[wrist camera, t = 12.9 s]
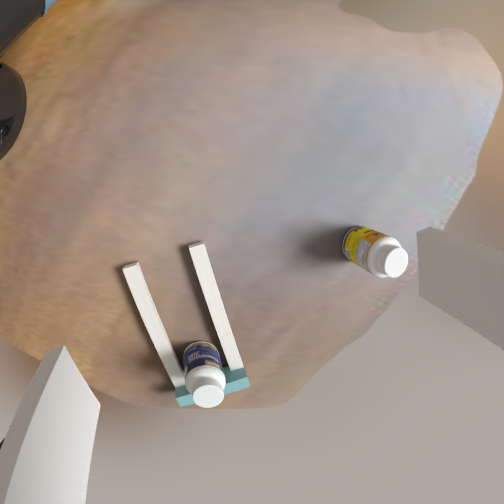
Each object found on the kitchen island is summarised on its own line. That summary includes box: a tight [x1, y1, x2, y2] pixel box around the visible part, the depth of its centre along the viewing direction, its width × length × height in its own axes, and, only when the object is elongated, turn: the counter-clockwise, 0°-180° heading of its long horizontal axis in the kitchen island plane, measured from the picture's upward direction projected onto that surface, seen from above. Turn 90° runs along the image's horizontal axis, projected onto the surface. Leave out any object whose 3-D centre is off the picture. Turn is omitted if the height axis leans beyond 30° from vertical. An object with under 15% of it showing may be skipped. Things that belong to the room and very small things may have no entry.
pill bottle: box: [183, 341, 226, 408], centre depth 41 cm, size 5×5×10 cm
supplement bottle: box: [342, 226, 408, 278], centre depth 42 cm, size 6×6×10 cm
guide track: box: [122, 241, 250, 407], centre depth 42 cm, size 22×11×4 cm, turn 14°
